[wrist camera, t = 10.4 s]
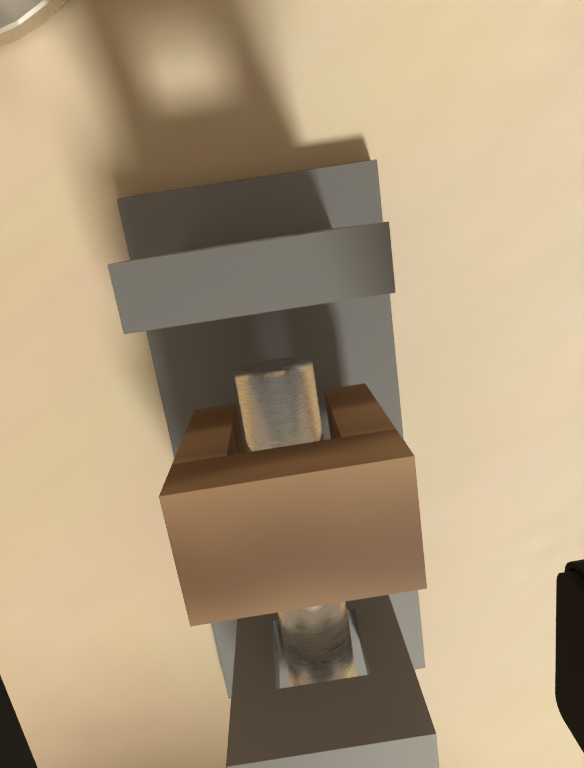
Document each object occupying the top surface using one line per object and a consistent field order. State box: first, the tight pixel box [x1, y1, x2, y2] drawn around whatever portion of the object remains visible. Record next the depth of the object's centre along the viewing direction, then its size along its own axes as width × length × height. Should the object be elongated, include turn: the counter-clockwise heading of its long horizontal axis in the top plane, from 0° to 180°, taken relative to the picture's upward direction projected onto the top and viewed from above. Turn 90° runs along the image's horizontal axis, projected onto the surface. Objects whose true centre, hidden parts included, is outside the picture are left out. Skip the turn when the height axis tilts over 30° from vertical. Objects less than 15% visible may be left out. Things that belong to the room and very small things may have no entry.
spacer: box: [159, 383, 427, 626], centre depth 17 cm, size 4×7×7 cm, turn 99°
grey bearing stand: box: [108, 160, 439, 768], centre depth 19 cm, size 24×10×11 cm, turn 8°
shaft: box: [234, 358, 356, 687], centre depth 19 cm, size 20×5×5 cm, turn 8°
